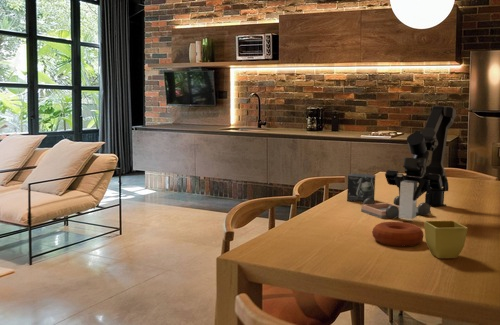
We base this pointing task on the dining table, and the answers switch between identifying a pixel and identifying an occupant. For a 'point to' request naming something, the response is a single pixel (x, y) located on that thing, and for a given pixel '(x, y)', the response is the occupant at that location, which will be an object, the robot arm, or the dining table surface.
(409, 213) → the block
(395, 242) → the donut
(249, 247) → the dining table surface
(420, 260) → the dining table surface
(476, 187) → the dining table surface
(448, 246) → the flower pot
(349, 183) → the box
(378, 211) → the chassis
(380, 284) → the dining table surface
